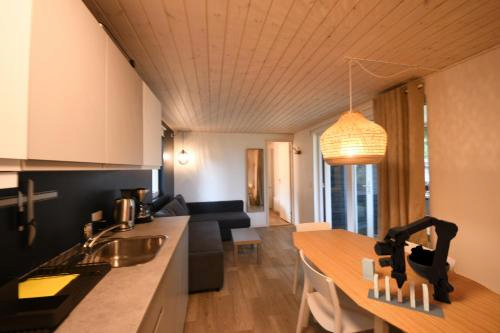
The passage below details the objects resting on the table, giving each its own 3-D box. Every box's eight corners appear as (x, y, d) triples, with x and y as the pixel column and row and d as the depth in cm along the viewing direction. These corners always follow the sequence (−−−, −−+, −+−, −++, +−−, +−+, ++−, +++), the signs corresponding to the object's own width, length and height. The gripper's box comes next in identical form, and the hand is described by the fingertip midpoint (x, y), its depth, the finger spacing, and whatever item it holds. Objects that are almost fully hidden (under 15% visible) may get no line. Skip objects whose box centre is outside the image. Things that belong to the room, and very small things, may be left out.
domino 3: (398, 296, 109) (397, 276, 109) (401, 296, 108) (400, 277, 108) (398, 301, 105) (397, 280, 105) (402, 302, 104) (401, 281, 104)
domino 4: (410, 301, 106) (409, 280, 106) (414, 302, 105) (413, 281, 106) (411, 306, 102) (410, 285, 102) (415, 307, 101) (414, 286, 101)
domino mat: (369, 289, 119) (369, 288, 119) (441, 307, 102) (441, 306, 102) (367, 298, 110) (367, 297, 110) (445, 319, 94) (445, 318, 94)
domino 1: (375, 292, 115) (374, 273, 115) (379, 293, 114) (378, 274, 114) (374, 297, 111) (373, 277, 111) (378, 298, 110) (377, 278, 110)
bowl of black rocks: (399, 273, 134) (398, 243, 134) (420, 266, 141) (419, 238, 142) (436, 289, 116) (435, 254, 116) (458, 281, 123) (457, 248, 123)
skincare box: (376, 279, 128) (375, 259, 128) (374, 283, 125) (373, 262, 125) (364, 276, 132) (363, 256, 132) (362, 279, 129) (361, 259, 129)
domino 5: (423, 304, 104) (422, 283, 104) (427, 305, 103) (426, 284, 103) (424, 310, 99) (423, 288, 100) (428, 311, 99) (427, 289, 99)
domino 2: (386, 295, 112) (385, 275, 112) (390, 296, 111) (389, 276, 111) (386, 300, 108) (385, 280, 108) (390, 301, 107) (389, 281, 107)
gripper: (380, 245, 119) (381, 273, 119) (377, 258, 104) (379, 290, 104) (404, 249, 113) (406, 279, 113) (406, 263, 97) (408, 297, 97)
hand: (399, 285), depth 107 cm, fingers closed on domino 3, 5 cm apart
